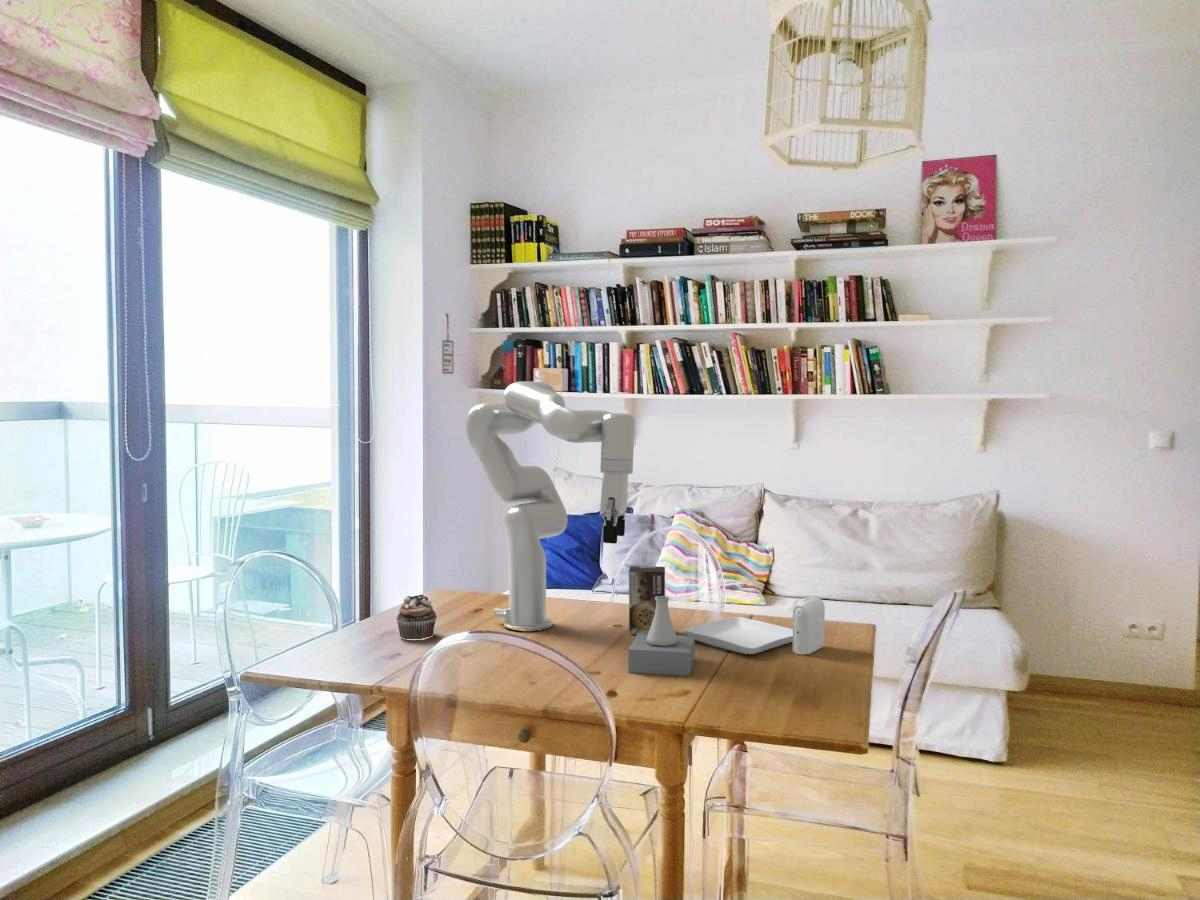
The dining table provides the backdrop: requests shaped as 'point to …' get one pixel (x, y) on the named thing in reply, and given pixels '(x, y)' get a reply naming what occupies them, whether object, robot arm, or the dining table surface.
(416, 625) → the cupcake
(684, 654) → the slate block
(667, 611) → the flask
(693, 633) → the salad plate
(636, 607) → the coffee box
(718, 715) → the dining table surface
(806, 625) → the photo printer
